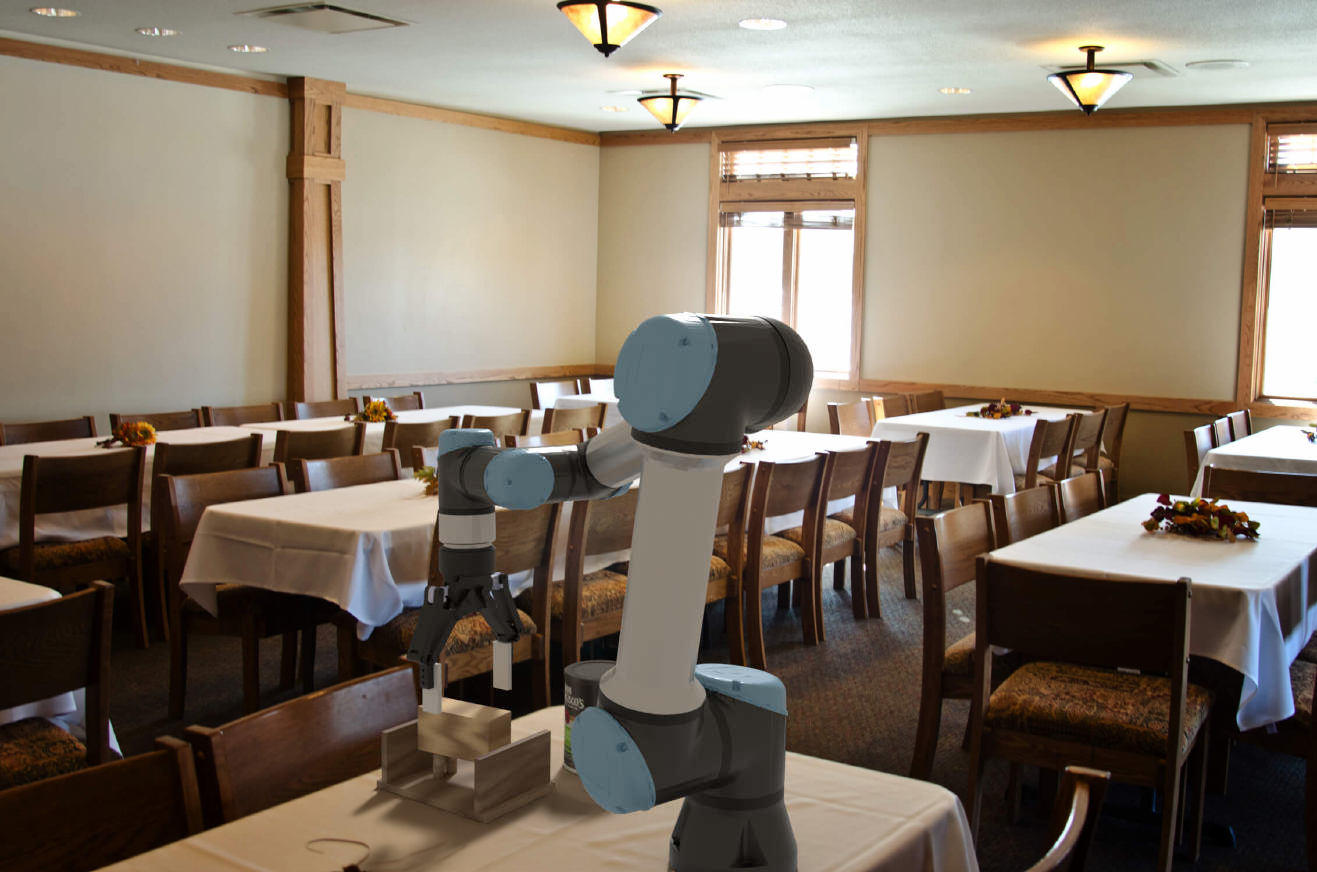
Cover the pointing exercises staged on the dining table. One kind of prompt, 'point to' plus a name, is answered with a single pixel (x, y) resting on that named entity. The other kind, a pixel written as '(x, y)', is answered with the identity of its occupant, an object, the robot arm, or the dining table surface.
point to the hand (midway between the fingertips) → (468, 699)
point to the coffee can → (580, 697)
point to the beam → (463, 729)
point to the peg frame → (467, 774)
